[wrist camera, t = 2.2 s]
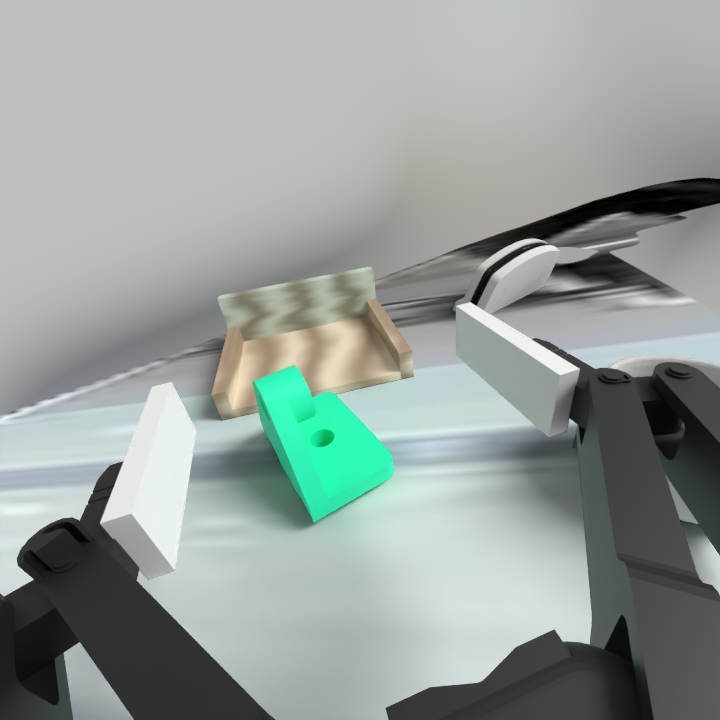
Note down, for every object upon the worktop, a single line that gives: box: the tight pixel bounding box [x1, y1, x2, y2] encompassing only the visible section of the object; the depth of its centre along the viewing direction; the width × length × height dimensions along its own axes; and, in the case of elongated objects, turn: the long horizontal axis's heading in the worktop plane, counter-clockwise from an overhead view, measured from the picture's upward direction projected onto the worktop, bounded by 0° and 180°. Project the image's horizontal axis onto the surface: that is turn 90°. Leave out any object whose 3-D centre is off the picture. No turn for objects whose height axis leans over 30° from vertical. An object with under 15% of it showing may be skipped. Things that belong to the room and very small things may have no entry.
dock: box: [211, 267, 413, 420], centre depth 46 cm, size 22×18×8 cm
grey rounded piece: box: [453, 239, 560, 314], centre depth 54 cm, size 17×5×10 cm, turn 126°
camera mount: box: [252, 365, 394, 523], centre depth 30 cm, size 12×8×10 cm, turn 31°
